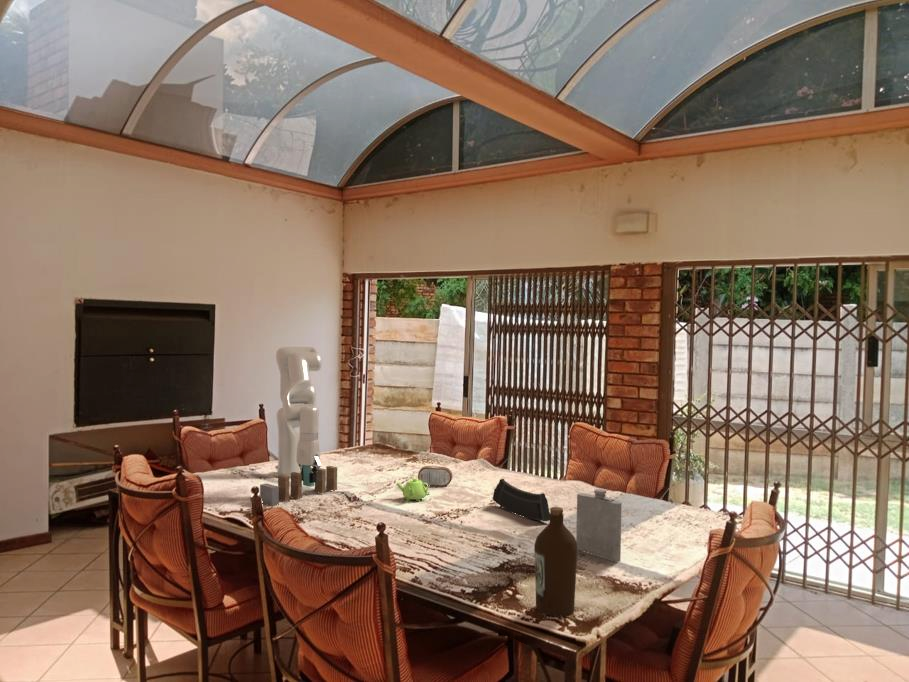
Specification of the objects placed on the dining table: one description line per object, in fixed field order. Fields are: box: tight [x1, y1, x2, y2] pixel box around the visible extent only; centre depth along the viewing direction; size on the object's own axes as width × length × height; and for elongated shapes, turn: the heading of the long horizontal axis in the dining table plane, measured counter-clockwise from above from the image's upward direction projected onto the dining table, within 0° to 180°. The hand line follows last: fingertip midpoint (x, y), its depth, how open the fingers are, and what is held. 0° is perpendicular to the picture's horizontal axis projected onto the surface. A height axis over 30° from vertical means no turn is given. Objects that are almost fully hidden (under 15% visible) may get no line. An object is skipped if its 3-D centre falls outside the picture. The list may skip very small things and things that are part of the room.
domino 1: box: [277, 474, 291, 503], centre depth 275 cm, size 2×5×10 cm, turn 49°
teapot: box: [396, 477, 430, 502], centre depth 280 cm, size 11×12×8 cm
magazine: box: [492, 478, 551, 522], centre depth 259 cm, size 17×3×30 cm
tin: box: [417, 465, 453, 487], centre depth 305 cm, size 15×3×8 cm, turn 84°
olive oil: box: [533, 506, 579, 617], centre depth 172 cm, size 11×11×25 cm
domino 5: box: [325, 465, 338, 492], centre depth 293 cm, size 2×5×10 cm, turn 49°
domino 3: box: [302, 464, 315, 488], centre depth 284 cm, size 2×5×10 cm, turn 49°
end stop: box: [259, 482, 280, 507], centre depth 270 cm, size 8×3×7 cm, turn 49°
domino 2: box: [290, 472, 303, 500], centre depth 280 cm, size 2×5×10 cm, turn 49°
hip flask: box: [575, 488, 622, 562], centre depth 215 cm, size 16×4×20 cm, turn 41°
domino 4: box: [314, 467, 327, 494], centre depth 289 cm, size 2×5×10 cm, turn 49°
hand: (308, 480), depth 284 cm, fingers closed on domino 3, 4 cm apart
